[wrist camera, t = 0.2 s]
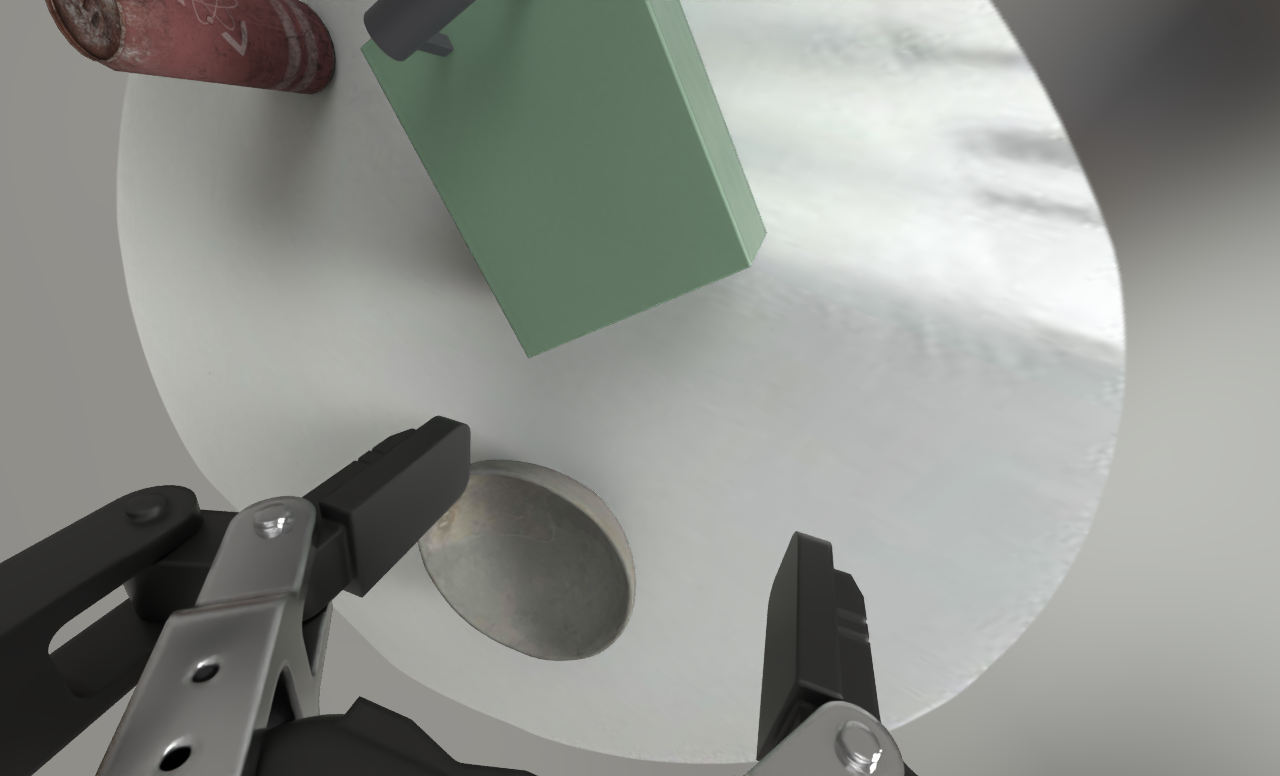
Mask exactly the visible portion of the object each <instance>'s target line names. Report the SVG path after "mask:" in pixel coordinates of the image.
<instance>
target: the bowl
mask: <svg viewBox="0 0 1280 776" xmlns="http://www.w3.org/2000/svg"><path fill="white" fill-rule="evenodd" d="M418 546H419V551H420V552H421V557H422V560H423V563H424V566H425V568H426V571H427V572H428V574H429V576H430V578H431V579H432V581H433V583H434V584H435V586H436V587H437V589H438V590H439V592H440V593H441V595H442V596H443V597H444V598H445V600H446V601H447V602H448V603H449V605H450V606H451V607H452V608H453V609H454V610H455V611H456V612H457V613H458V614H459V615H460V616H461V617H462V618H463V619H464V620H465V621H466V622H468V623H469V624H470V625H471V626H473V627H474V628H475V629H477V630H478V631H480V632H481V633H483V634H485V635H486V636H488V637H489V638H491V639H493V640H495V641H496V642H498V643H500V644H502V645H504V646H506V647H509V648H511V649H514V650H516V651H519V652H521V653H523V654H526V655H528V656H531V657H535V658H538V659H544V660H554V661H566V660H576V659H583V658H587V657H591V656H594V655H596V654H599V653H601V652H602V651H604V650H605V649H607V648H608V647H609V646H611V645H612V644H613V643H614V642H615V641H616V640H617V638H618V637H619V636H620V635H621V634H622V632H623V631H624V629H625V628H626V626H627V624H628V622H629V620H630V617H631V614H632V611H633V607H634V601H635V590H636V579H635V567H634V562H633V557H632V553H631V550H630V547H629V543H628V541H627V538H626V536H625V533H624V531H623V529H622V527H621V525H620V523H619V522H618V520H617V518H616V517H615V516H614V514H613V513H612V511H611V510H610V509H609V508H608V506H607V505H606V504H605V503H604V502H603V500H602V499H601V498H600V497H599V496H598V495H596V494H595V493H594V492H593V491H591V490H590V489H589V488H587V487H586V486H584V485H582V484H581V483H579V482H577V481H576V480H574V479H572V478H570V477H568V476H566V475H564V474H561V473H559V472H557V471H554V470H552V469H549V468H546V467H543V466H539V465H535V464H530V463H525V462H519V461H510V460H485V461H479V462H475V463H471V464H470V478H469V482H468V485H467V487H466V489H465V491H464V493H463V495H462V496H461V497H460V498H459V500H458V501H457V502H456V503H455V504H454V505H453V506H452V507H451V508H450V509H449V510H448V511H447V512H446V513H445V514H444V515H443V516H442V517H441V518H440V519H439V520H438V521H437V522H436V523H435V524H434V525H433V526H432V527H431V528H430V529H429V530H428V531H427V532H426V533H425V534H424V535H423V536H422V537H421V538H420V539H419V540H418Z"/></svg>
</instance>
